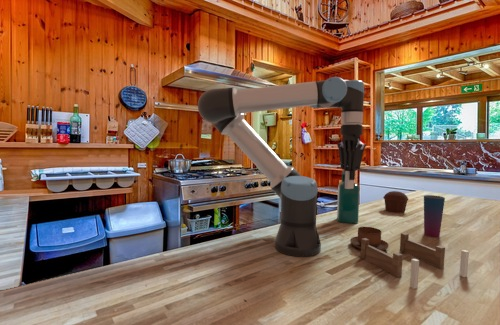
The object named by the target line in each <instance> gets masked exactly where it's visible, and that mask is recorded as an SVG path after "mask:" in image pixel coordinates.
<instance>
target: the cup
mask: <svg viewBox="0 0 500 325" xmlns="http://www.w3.org/2000/svg"><path fill="white" fill-rule="evenodd" d="M445 199H446V198H445V197H444V196H440V195H432V194H425V195H423V234H424V236H427V237H430V238H439V237H440V236H441V235H440V234H441V229H442V228H441V226H442V221H443V215H444V214H443V213H444V209H445V208H444V206H445Z"/></svg>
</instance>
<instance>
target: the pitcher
mask: <svg viewBox="0 0 500 325" xmlns="http://www.w3.org/2000/svg"><path fill="white" fill-rule="evenodd" d="M355 176H356V173H355ZM337 185H338V186H337V187H338V188H337V207H336V208H337V209H336V210H337V212H336V218H337V221H338V222H339V223H342V224H358V223H359V214H360V213H359V212H360V210H359V209H360V189H361V188H360V186H359V185H358V183H356V182H354V189H346V188H345V170H341V182H339V184H337Z"/></svg>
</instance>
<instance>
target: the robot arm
mask: <svg viewBox="0 0 500 325" xmlns="http://www.w3.org/2000/svg"><path fill="white" fill-rule="evenodd" d="M364 99H365V83H364V81H363V80H358V79H352V80H351V79H349V80H344V79H343V78H341V77H340V76H332V77H329V78H326V80H317V81H306V82H299V83H288V84H281V85H272V86H262V87H254V88H253V87H252V88H245V89H243V88H242V89H237V88H235V86H234V87H222V88H221V87H220V88H211V89H208V90H205V91H204V92H203V93H201V95H200V97H199V98H198V102H197V110H198V113H199V115H200V117H201V118H202V119H203V120H205V122H208V123H210V124H211V125H212V126H213V127H214V128H215V129H216V130H217V131H218V132H219V133H220V134H221V135H222V136H223V135H226V136H228V137H229V138H230V139H231V141H232V142H234V144H236V146H237V148H239V150H241V152H243V153H244V155H246V157H247V158H248V159H249V160H250V161H251V162H252V164H254V166H256V168H257V169H258V170H259V171H260V172H261V174H263V175H264V176H265V177H266V178H267V179H268V180H269V182H270V185H269V187H270V188H271V190H272V191H273V192H274V193H275V194H276V195H277V196H278V197H279V199H280V225H279V228H278V230H277V234H276V237H275V239H274V248H275V249H276V251H278V252H280V253H282V254H284V255H287V256H292V257H311V256H312V257H313V256H316V255H318V254H320V252H321V250H322V248H321V247H322V242H321V238H320V236H319V232H318V228H317V202H318V199H317V198H318V192H319V191H318V190H319V189H318V184H317V181H316V180H315V178H312V177H308V176H303V175H301V173H299V172H298V170H297V169H295V167H294V166H287V164H286V163H285V162H284V161H283V160H282V159H281V158H280V157H279V155H278V154H277V153H275V151H274V150H273V149H272V148H271V146H270V145H269V144H267V142H265V140H264V139H263V138H262V137H261V136H260V135H259V134H258V133H257V131H255V129H254V128H253V127H252V126H251V125H250V124H249V123H248V122H247V121H246V120H245V114H247V113H256V112H257V113H258V112H264V111H265V112H266V111H274V110H282V109H283V110H284V109H291V108H292V109H293V108H301V107H309V108H311V109H312V108H313V109H332V108H333V109H334V108H336V109H340V110H341V112H340V114H341V115H340V123H341V125H340V135H341V136H342V138H341V142H337V144H336V145H337V149H338V153H339V156H338V157H339V162H340V168H341V169H343V171H345V188H346V189H354V183H355V179H356V175H355V174H356V172H357V171H359V170H360V169H361V164H362V160H363V156H364V150H365V149H366V146H367V144H366V143H363V142H362V139H361V138H362V137H361V136H362V135H363V125H362V124H363V122H364V102H365V101H364Z"/></svg>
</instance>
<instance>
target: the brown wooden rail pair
mask: <svg viewBox="0 0 500 325" xmlns="http://www.w3.org/2000/svg"><path fill="white" fill-rule="evenodd" d="M409 235H410V234H409V233H406V232H400V241H399V252H392V255H391V254H389V253H387V252H385V251H384V250H383V251H381V250H379V249H377V248H374V247H372V246H370V245H369V239H367V238H362V239H361V249H360V258H361V259H363V260H366V261H367V262H369V263H371V264H373V265H374V266H376V267H379V268H380V269H382V270H383V271H385V272H387V273H389V274H391V275H392V276H394V277H395V278H401V277H403V260H404V259H403V256H404V255H403V254H406V255H409V256H410V257H414V259H417V260H419V261H422V262H425V263H427V264H429V265H431V266H433V267H434V268H437V269H439V270H442V269H444V268H445V258H446V257H445V256H446V255H445V254H446V247H445V246H442V245H436V246H435V248H433V247H430V246H427V245H425V244H422V243H420V242H417V241H414V240H412V239H410V238H409ZM401 252H402V253H403V254H402V253H401Z"/></svg>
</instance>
